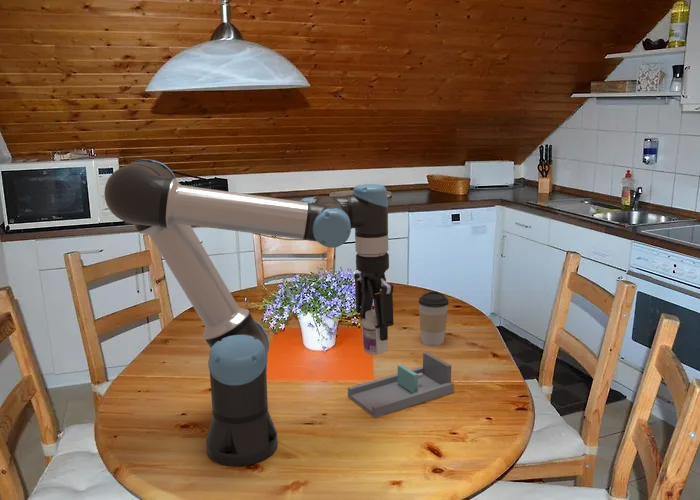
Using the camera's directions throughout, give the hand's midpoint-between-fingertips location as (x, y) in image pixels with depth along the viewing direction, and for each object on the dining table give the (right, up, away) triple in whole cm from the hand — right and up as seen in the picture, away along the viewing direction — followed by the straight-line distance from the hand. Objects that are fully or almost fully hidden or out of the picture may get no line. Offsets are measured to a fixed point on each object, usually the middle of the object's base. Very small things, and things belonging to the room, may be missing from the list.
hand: (375, 347), depth 145 cm
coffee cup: (+20, -5, +44) cm, 49 cm away
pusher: (+10, -12, +12) cm, 20 cm away
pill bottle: (0, -1, 0) cm, 1 cm away
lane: (+7, -14, +10) cm, 18 cm away
